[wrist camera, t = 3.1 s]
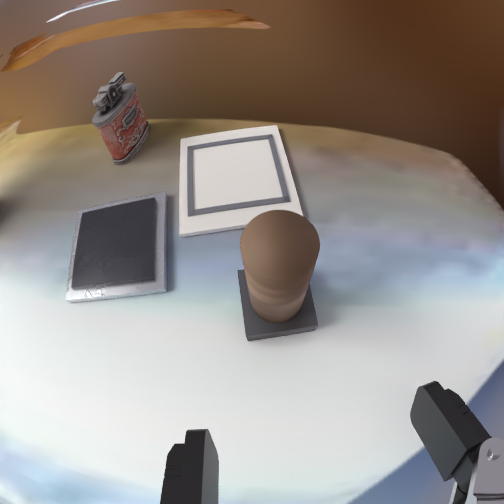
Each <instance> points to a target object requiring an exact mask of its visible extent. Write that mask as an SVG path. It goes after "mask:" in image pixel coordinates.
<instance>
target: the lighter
mask: <svg viewBox="0 0 504 504" xmlns="http://www.w3.org/2000/svg"><path fill="white" fill-rule="evenodd" d="M126 80H127V78H126V75H125V73H123V72H120V73H118V74H117V75H116V76H114V77H113V79H112V80H111V81H110V82H109V84H108V85H107V86H102V87H100V89H99V92H98V96H97V97H96V98H95V99H94V100H93V103H94V106H95V108H97V109H98V110H97V112H96V113H95V115H94V117H93V118H92V122H93V124H94V126H95V127H97V128H98V130H99V132H100V134H101V136H102V138H103V140H104V142H105V144H106V146H107V147H108V149H109V151H110V153H111V155H112V160H113V162H114V163H115V164H116V165H118V166H120V165H125V164H126V163H128V162H129V161H130V160H131V159H132V158H133V156H134V155H135V154H136V153H137V152H138V150H139V149H140V147H141V146H142V145H143V143H144V141H145V139H146V137H147V135H148V133H149V131H150V125H149V122H148V121H146V118H145V116H144V113H143V110H142V107H141V105H140V102H139V99H138V96H137V93H136V90H137V89H136V86H135V84H133V83H128V84H124V82H125V81H126ZM123 84H124V85H123Z"/></svg>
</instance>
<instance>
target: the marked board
mask: <svg viewBox="0 0 504 504" xmlns="http://www.w3.org/2000/svg"><path fill="white" fill-rule="evenodd" d="M271 210H288V211H292V212H295V213H298V214H300V215H302V216H303V214H302V210H301V206H300V203H299V199H298V195H297V192H296V188H295V185H294V181H293V178H292V174H291V171H290V167H289V164H288V160H287V157H286V154H285V150H284V147H283V144H282V141H281V137H280V134H279V131H278V128H277V125H274V126H264V127H255V128H247V129H239V130H232V131H225V132H218V133H212V134H206V135H200V136H194V137H189V138H183V139H181V147H180V190H179V227H180V236H181V237H187V236H194V235H200V234H207V233H214V232H220V231H227V230H234V229H241V228H245V227H246V225H247V224H248V223H249V222H250V221H251V220H252V219H253V218H255V217H256V216H258V215H259V214H261V213H264V212H267V211H271Z"/></svg>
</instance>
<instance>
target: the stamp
mask: <svg viewBox="0 0 504 504" xmlns="http://www.w3.org/2000/svg"><path fill="white" fill-rule="evenodd" d="M240 248H241V253H242V259H243V264H244V270H238V278H239V285H240V293H241V301H242V309H243V316H244V324H245V332H246V337H247V340H248V341H252V340H259V339H266V338H273V337H279V336H285V335H292V334H297V333H303V332H309V331H314V330H315V329H316V327H317V326H318V323H317V318H316V313H315V309H314V304H313V299H312V294H311V290H310V285H309V282H310V279H311V276H312V273H313V270H314V267H315V264H316V260H317V257H318V254H319V249H320V241H319V237H318V234H317V231H316V229H315V228H314V226H313V225H312V224H311V223H310V222H309V221H308V220H307V219H306V218H305V217H303V216H302V215H300V214H298V213H295V212H292V211H288V210H271V211H267V212H264V213H261V214H259V215H258V216H256V217H255V218H253V219H252V220H251V221H250V222H249V223H248V224H247V225H246V227H245V229H244V230H243V233H242V236H241V241H240Z"/></svg>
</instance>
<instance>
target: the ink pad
mask: <svg viewBox="0 0 504 504" xmlns="http://www.w3.org/2000/svg"><path fill="white" fill-rule="evenodd" d="M167 199H168V196H167V194H166V192H161V193H156V194H151V195H146V196H141V197H136V198H131V199H127V200H122V201H117V202H113V203H108V204H104V205H100V206H95V207H91V208H87V209H83V210H79V214H78V219H77V224H76V229H75V235H74V241H73V247H72V253H71V260H70V267H69V275H68V284H67V293H66V301H68V302H69V303H74V302H84V301H93V300H103V299H112V298H121V297H130V296H139V295H147V294H155V293H164V292H167Z"/></svg>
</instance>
